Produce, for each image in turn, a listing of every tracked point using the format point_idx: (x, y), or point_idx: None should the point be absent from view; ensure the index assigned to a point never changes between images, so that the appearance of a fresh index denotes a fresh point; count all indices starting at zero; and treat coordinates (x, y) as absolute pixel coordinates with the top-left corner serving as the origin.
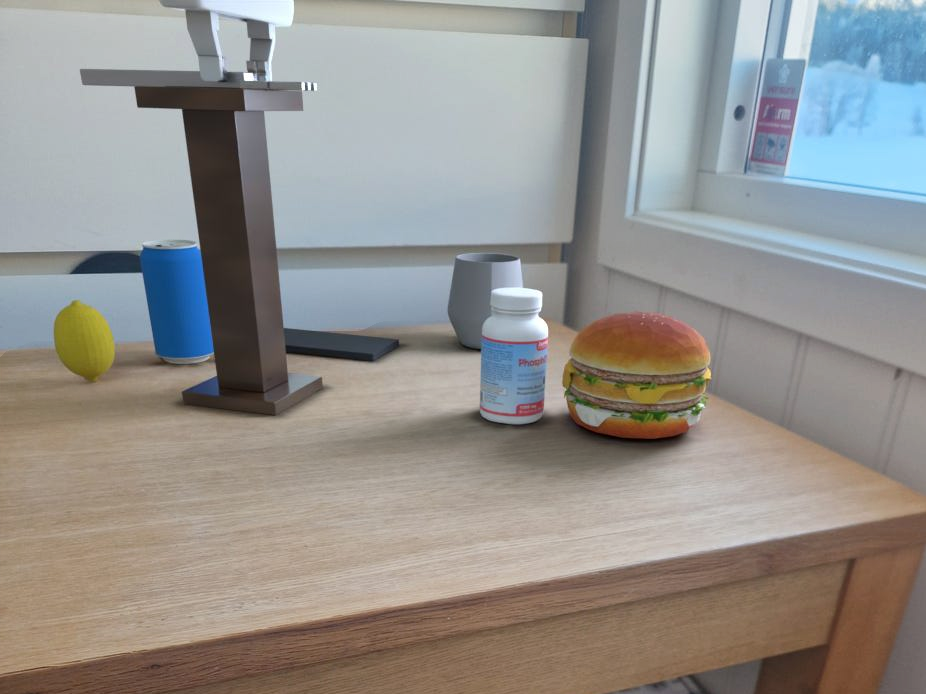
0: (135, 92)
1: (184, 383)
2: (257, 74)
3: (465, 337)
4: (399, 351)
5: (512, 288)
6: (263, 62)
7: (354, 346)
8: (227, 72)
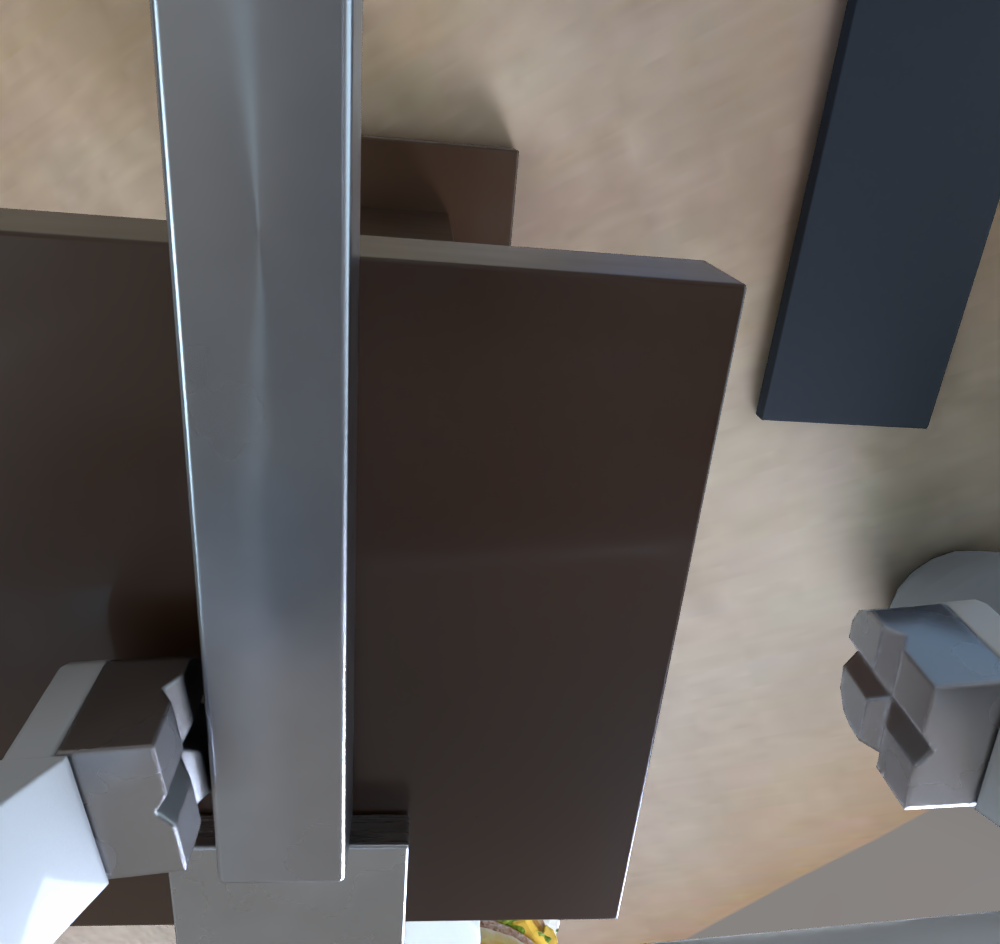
0: None
1: (427, 24)
2: (883, 691)
3: (907, 588)
4: (863, 439)
5: (463, 932)
6: (901, 796)
7: (830, 350)
8: (211, 793)
